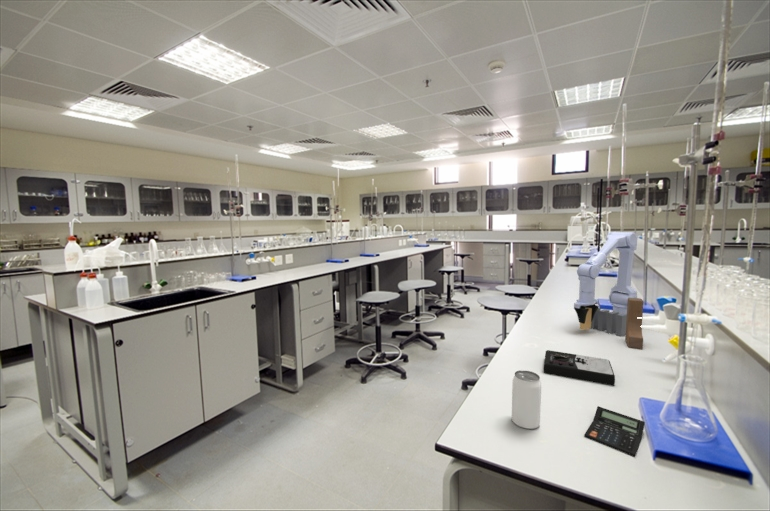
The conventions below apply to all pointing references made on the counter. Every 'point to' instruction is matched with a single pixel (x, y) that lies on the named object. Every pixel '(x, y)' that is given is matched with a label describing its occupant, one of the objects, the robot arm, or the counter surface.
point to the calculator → (616, 431)
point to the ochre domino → (587, 320)
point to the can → (526, 399)
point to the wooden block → (634, 323)
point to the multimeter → (579, 367)
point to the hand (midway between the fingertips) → (585, 322)
